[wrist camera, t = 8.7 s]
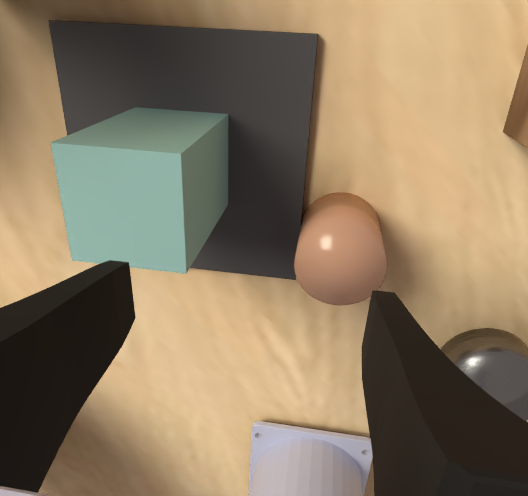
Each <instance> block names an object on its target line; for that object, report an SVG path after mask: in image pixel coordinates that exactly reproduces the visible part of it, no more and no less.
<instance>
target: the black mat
mask: <svg viewBox="0 0 528 496" xmlns="http://www.w3.org/2000/svg"><path fill="white" fill-rule="evenodd" d="M49 26H50V32H51V38H52V44H53V51H54V57H55V63H56V69H57V75H58V81H59V87H60V93H61V99H62V105H63V112H64V118H65V124H66V130H67V136H68V135H70V134H73V133H75V132H78V131H80V130H82V129H85V128H87V127H90V126H92V125H94V124H97V123H99V122H102V121H104V120H106V119H109V118H111V117H113V116H116V115H118V114H121V113H123V112H125V111H128V110H130V109H133V108H135V107H139V108H153V109H166V110H180V111H194V112H207V113H221V114H228V205H227V207H226V209H225V210H224V212H223V214H222V215H221V217H220V219H219V220H218V222H217V224H216V225H215V227H214V229H213V230H212V232H211V234H210V235H209V237H208V239H207V240H206V242H205V244H204V245H203V247H202V249H201V250H200V252H199V254H198V255H197V257H196V259H195V260H194V262H193V263H192V265H191V267H190V268H196V269H205V270H214V271H223V272H231V273H240V274H249V275H258V276H266V277H275V278H284V279H293V280H296V274H295V269H294V261H295V255H296V250H297V244H298V239H299V233H300V228H301V219H302V208H303V197H304V185H305V174H306V163H307V152H308V141H309V129H310V118H311V107H312V96H313V85H314V73H315V62H316V51H317V40H318V34H311V33H291V32H271V31H252V30H232V29H213V28H193V27H173V26H154V25H134V24H114V23H95V22H75V21H55V20H49Z"/></svg>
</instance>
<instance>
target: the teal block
mask: <svg viewBox="0 0 528 496" xmlns="http://www.w3.org/2000/svg"><path fill="white" fill-rule="evenodd" d="M51 148H52V153H53V159H54V164H55V170H56V175H57V181H58V186H59V192H60V197H61V203H62V208H63V214H64V219H65V224H66V230H67V235H68V241H69V246H70V252H71V257H72V260H73V261H81V262H90V263H99V264H101V263H103V262H106V261H109V260H113V261H122V262H129V267H133V268H142V269H150V270H159V271H168V272H176V273H185V274H186V273H187V272H188V270H189V268H190V267H191V265H192V263H193V262H194V260H195V259H196V257H197V255H198V254H199V252H200V250H201V249H202V247H203V245H204V244H205V242H206V240H207V239H208V237H209V235H210V234H211V232H212V230H213V229H214V227H215V225H216V224H217V222H218V220H219V219H220V217H221V215H222V214H223V212H224V210H225V209H226V207H227V205H228V114H221V113H207V112H194V111H180V110H166V109H153V108H139V107H135V108H133V109H130V110H128V111H125V112H123V113H121V114H118V115H116V116H113V117H111V118H109V119H106V120H104V121H102V122H99V123H97V124H94V125H92V126H90V127H87V128H85V129H82V130H80V131H78V132H75V133H73V134H70V135H68V136H66V137H63V138H61V139H58V140H56V141H54V142H51Z"/></svg>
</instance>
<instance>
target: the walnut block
mask: <svg viewBox="0 0 528 496" xmlns="http://www.w3.org/2000/svg"><path fill="white" fill-rule="evenodd" d="M503 132H504V133H505V134H507V135H508V136H510V137H512V138H513V139H515V140H516V141H518V142H519V143H521V144H522V145H524V146H525V147H527V148H528V46H527V49H526V53H525V56H524V60H523V63H522V67H521V70H520V74H519V77H518V81H517V84H516V88H515V91H514V95H513V98H512V102H511V105H510V109H509V112H508V116H507V119H506V123H505V126H504V130H503Z"/></svg>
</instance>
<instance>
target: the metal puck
mask: <svg viewBox="0 0 528 496" xmlns="http://www.w3.org/2000/svg"><path fill="white" fill-rule="evenodd" d="M441 351H442V352H443V353H444V354H445V355H446V356H447V357H448V358H449V359H450V360H451V361H452V362H453V363H454V364H455V365H456V366H457V367H458V368H459V369H460V370H461V371H462V372H464V373H465V374H466V375H467V376H468V377H469V378H470V379H471V380H473V381H474V382H475V383H476V384H477V385H478V386H479V387H481V388H482V389H483V390H484V391H486V392H487V393H488V394H489V395H490V396H492V397H493V398H494V399H496V400H497V401H498V402H500V403H501V404H502V405H504V406H505V407H506V408H508V409H509V410H510V411H512V412H513V413H515V414H516V415H517V416H519V417H520V418H522V419H523V420H525V421H526V420H527V419H528V349H527V347H526V345H525V344H524V343H523V342H522V341H521V340H520V339H519V338H518V337H516V336H515V335H513V334H511V333H509V332H506V331H503V330H499V329H490V328H483V329H474V330H470V331H467V332H464V333H461V334H459V335H457V336H455V337H454V338H452V339H451V340H449V341H448V342H447V343H446V344H445V345H444V346H443V347H442V349H441Z"/></svg>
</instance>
